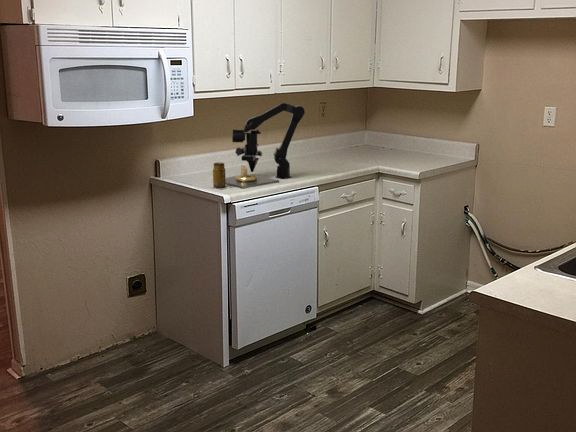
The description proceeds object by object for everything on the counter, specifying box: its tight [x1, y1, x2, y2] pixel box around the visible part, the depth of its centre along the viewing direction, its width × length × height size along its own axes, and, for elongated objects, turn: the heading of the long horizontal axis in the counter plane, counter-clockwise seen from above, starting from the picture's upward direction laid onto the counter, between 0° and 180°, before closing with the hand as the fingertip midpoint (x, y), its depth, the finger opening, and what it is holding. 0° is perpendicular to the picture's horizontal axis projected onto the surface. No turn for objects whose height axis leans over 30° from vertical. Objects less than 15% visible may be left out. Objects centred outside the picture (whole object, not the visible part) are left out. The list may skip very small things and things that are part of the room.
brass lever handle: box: [235, 165, 258, 181], centre depth 329 cm, size 12×16×5 cm
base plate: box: [225, 173, 280, 189], centre depth 327 cm, size 24×24×1 cm
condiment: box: [209, 162, 231, 190], centre depth 313 cm, size 7×8×12 cm
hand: (252, 171), depth 336 cm, fingers closed
